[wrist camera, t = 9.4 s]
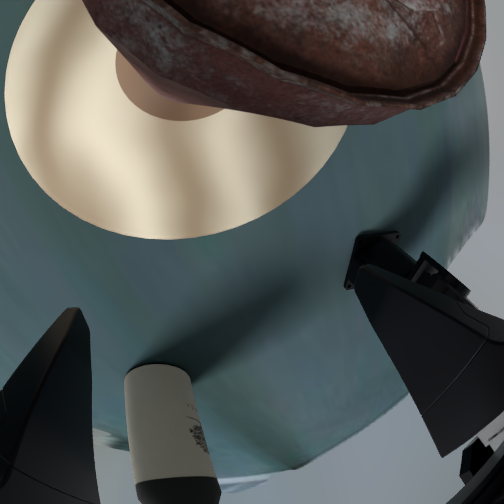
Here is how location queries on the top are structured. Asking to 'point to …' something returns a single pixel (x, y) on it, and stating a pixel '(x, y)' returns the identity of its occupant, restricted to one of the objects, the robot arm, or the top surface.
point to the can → (300, 53)
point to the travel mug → (167, 438)
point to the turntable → (142, 138)
